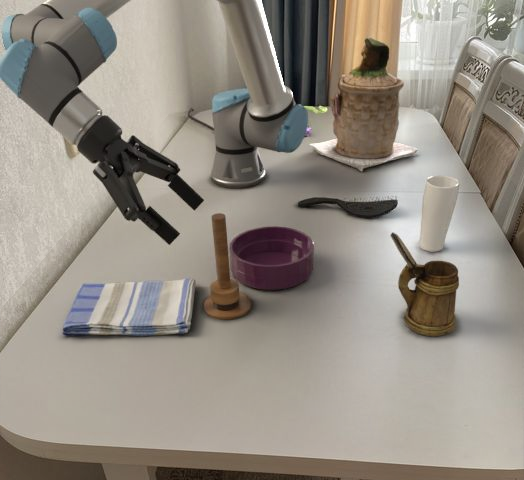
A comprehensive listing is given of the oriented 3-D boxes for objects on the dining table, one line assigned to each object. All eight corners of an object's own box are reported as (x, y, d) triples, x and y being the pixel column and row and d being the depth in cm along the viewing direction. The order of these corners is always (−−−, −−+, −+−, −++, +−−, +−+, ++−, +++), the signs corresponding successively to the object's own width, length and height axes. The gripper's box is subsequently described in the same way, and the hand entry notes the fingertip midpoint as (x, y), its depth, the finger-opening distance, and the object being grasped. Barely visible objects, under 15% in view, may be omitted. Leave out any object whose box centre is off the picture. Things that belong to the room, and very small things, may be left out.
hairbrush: (301, 188, 142) (399, 191, 136) (301, 202, 145) (398, 205, 138) (293, 201, 136) (396, 205, 130) (294, 215, 138) (395, 220, 132)
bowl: (217, 264, 118) (215, 239, 115) (285, 244, 125) (285, 219, 121) (256, 301, 106) (254, 275, 103) (329, 277, 113) (330, 251, 109)
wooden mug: (375, 308, 103) (386, 220, 92) (448, 308, 103) (467, 219, 92) (382, 337, 96) (395, 245, 85) (460, 336, 96) (483, 244, 85)
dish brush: (207, 301, 106) (197, 214, 95) (231, 293, 108) (225, 207, 97) (219, 314, 102) (211, 225, 91) (244, 306, 104) (239, 218, 93)
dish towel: (191, 336, 98) (189, 323, 96) (60, 339, 99) (56, 327, 97) (199, 285, 112) (198, 273, 110) (84, 288, 112) (81, 276, 110)
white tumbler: (447, 242, 123) (461, 177, 114) (445, 256, 118) (458, 189, 109) (417, 238, 125) (427, 173, 116) (413, 252, 120) (424, 185, 111)
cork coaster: (196, 302, 107) (196, 299, 107) (237, 288, 110) (237, 286, 110) (216, 325, 101) (216, 322, 100) (259, 310, 104) (259, 307, 104)
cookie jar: (420, 154, 167) (438, 35, 147) (360, 173, 157) (370, 47, 137) (364, 135, 183) (374, 25, 164) (306, 150, 173) (309, 35, 153)
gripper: (110, 123, 101) (196, 205, 108) (40, 173, 82) (149, 269, 89) (132, 93, 97) (220, 180, 103) (63, 139, 78) (176, 242, 85)
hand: (187, 221), depth 96 cm, fingers open, 13 cm apart
